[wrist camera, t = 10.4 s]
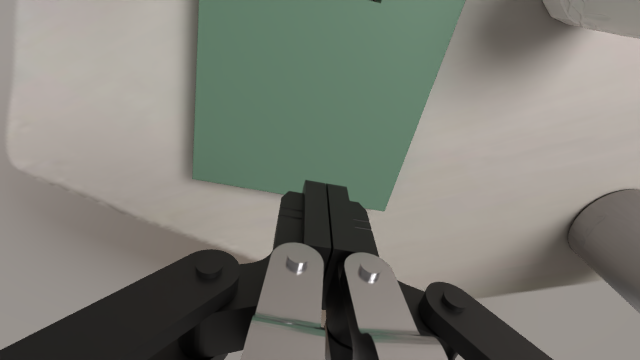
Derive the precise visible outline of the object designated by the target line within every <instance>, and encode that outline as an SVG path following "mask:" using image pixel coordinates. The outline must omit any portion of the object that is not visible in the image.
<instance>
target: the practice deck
mask: <svg viewBox="0 0 640 360" xmlns="http://www.w3.org/2000/svg"><path fill="white" fill-rule="evenodd" d="M464 3H465V0H376V2H374V1H370V0H199V13H198V40H197V68H196V95H195V123H194V150H193V177H192V179H196V180H202V181H208V182H214V183H220V184H226V185H231V186H237V187H243V188H249V189H255V190H261V191H267V192H273V193H279V194H284V195H285V194H286V193H287V192H288V191H293V192H299V193H302V191H303V186H304V182H305V180H310V181H316V182H322V183H325V184H326V183H328V184H334V185H340V186H345V187H347V190H348V195H349V200H350V201H354V202H359V203H360V204H361V206H362V207H363V208H367V209H373V210H379V211H385V208H386V206H387V203H388V201H389V198H390V195H391V193H392V190H393V188H394V185H395V182H396V180H397V177H398V175H399V172H400V169H401V167H402V164H403V162H404V159H405V156H406V154H407V151H408V149H409V146H410V143H411V141H412V138H413V136H414V133H415V130H416V128H417V125H418V123H419V120H420V117H421V115H422V112H423V110H424V107H425V104H426V102H427V99H428V97H429V94H430V91H431V89H432V86H433V84H434V81H435V78H436V76H437V73H438V71H439V68H440V65H441V63H442V60H443V58H444V55H445V52H446V50H447V47H448V45H449V42H450V39H451V37H452V34H453V32H454V29H455V26H456V24H457V21H458V19H459V16H460V13H461V11H462V8H463V6H464Z"/></svg>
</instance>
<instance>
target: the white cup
mask: <svg viewBox="0 0 640 360" xmlns="http://www.w3.org/2000/svg"><path fill="white" fill-rule="evenodd" d="M542 1H543V3H544V5H545V7H546V8H547V10H548V12H549V14H550V16H551V17H552V18H555V19H557V20H559V21H561V22H563V23H565V24H568V25H575V26H581V27H584V28H588V29H591V30H596V31H601V32H607V33H611V34H616V35H620V36H626V37H632V38H638V39H640V0H542Z"/></svg>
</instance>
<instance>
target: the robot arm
mask: <svg viewBox="0 0 640 360" xmlns="http://www.w3.org/2000/svg"><path fill="white" fill-rule="evenodd" d="M568 241H569V245H570V247H571V248H572V250H573V251H574V252H575V253H576V254H577V255H578V256H579V257H581V258H582V259H583V260H584V261H585V262H586V263H587V264H588V265H589V266H590V267H591V268H592V269H593V270H594V271H595V272H596V273H598V274H599V276H600V277H602V278H603V279H604V280H605V281H606V282H607V283H608V284H609V285H610V286H611V287H612V288H613V289H614V290H615V291H616V292H618V293H619V294H620V295H621V296H622V297H623V298H624V299H625V300H626V301H627V302H628V303H629V304H630V305H631V306H632V307H634V309H636V310H637V311H638V312H639V313H640V190H623V191H618V192H615V193H612V194H609V195H607V196H604V197H602V198H600V199H598V200H597V201H595V202H594V203H592V204H591V205H589V206H588V207H587V208H586V209H585V210H583V211H582V212H581V213H580V215H579V216H578V217H577V218H576V219H575V221H574V222H573V224H572V226H571V228H570V231H569V236H568ZM321 309H322V310H326V321H325V325H324V327H323V328H322V327H321ZM240 350H243V353H242V356H241V360H455V358H456V357H457V355H458V354H459V355H460V356H461V357H462V358H463V359H465V360H553V359H552V358H550V357H549V356H548V355H546V354H545V353H544V352H542V351H541V350H540V349H538V348H537V347H536V346H535V345H533V344H532V343H531V342H529V341H528V340H527V339H526V338H524V337H523V336H522V335H520V334H519V333H518V332H517V331H515V330H514V329H513V328H511V327H510V326H509V325H507V324H506V323H505V322H504V321H502V320H501V319H499V318H498V317H497V316H496V315H494V314H493V313H492V312H490V311H489V310H488V309H487V308H485V307H484V306H483V305H481V304H480V303H479V302H478V301H476V300H475V299H474V298H472V297H471V296H470V295H468V294H467V293H466V292H464V291H463V290H462V289H460V288H458V287H456V286H454V285H452V284H449V283H445V282H434V283H431V284H430V285H429V286H428V287H427V289H426V291H425V292H424V291H421V290H419V289H416V288H414V287H411V286H409V285H406V284H404V283H402V282H400V281H398V280H397V279H396V276H395V274H394V272H393V270H392V268H391V267H390V265H389V264H388V263H387V262H385V261H384V260H383V259H381V258H379V255H378V251H377V247H376V244H375V240H374V237H373V233H372V231H371V226H370V223H369V218H368V215H367V211H366V210H365V209H364V208H363V207H362V206H361V204H360V203H359V202H354V201H350V200H349V195H348V190H347V187H345V186H340V185H334V184H328V183H326V184H325V183H322V182H316V181H310V180H305V182H304V186H303V191H302V193H299V192H293V191H288V192H287V193H286V194H285V195H284V196H283V197H282V198H281V204H280V210H279V215H278V221H277V226H276V232H275V238H274V245H273V251H272V252H271V254H270V255H269V256H267V257H266V258H264V259H263V260H260V261H257V262H254V263H248V264H238V261H237V260H236V259H235V258H234V257H233V256H232V255H230V254H229V253H226V252H224V251H220V250H212V249H211V250H201V251H198V252H195V253H192V254H190V255H188V256H186V257H184V258H182V259H180V260H178V261H176V262H174V263H172V264H170V265H168V266H166V267H164V268H162V269H160V270H158V271H156V272H155V273H153V274H150V275H148V276H146V277H144V278H142V279H140V280H138V281H136V282H135V283H133V284H131V285H129V286H127V287H125V288H123V289H121V290H119V291H117V292H115V293H113V294H111V295H109V296H107V297H105V298H103V299H101V300H99V301H97V302H95V303H93V304H91V305H89V306H87V307H85V308H83V309H81V310H79V311H77V312H75V313H73V314H71V315H69V316H67V317H65V318H63V319H61V320H59V321H57V322H55V323H53V324H51V325H49V326H47V327H45V328H43V329H41V330H39V331H37V332H36V333H34V334H32V335H29V336H28V337H25V338H24V339H22V340H20V341H18V342H16V343H14V344H12V345H10V346H8V347H6V348H4V349H2V350H0V360H224V359H225V357H226V356H227V355H228V353H231V352H236V351H240Z"/></svg>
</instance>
